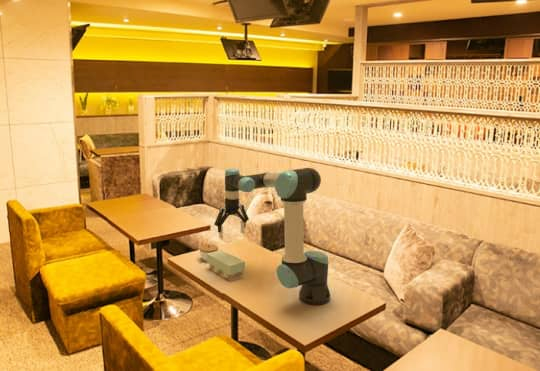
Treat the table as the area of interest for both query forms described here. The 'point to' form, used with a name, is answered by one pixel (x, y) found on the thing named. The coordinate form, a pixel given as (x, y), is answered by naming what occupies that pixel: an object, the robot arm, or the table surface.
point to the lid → (226, 262)
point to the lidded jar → (207, 250)
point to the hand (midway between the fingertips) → (231, 235)
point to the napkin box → (225, 275)
